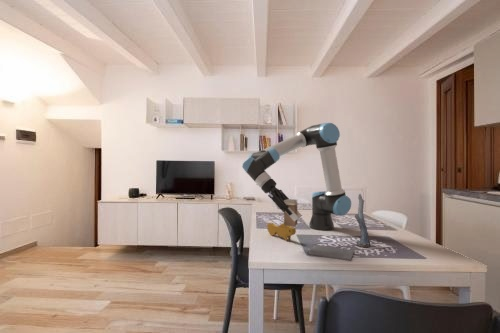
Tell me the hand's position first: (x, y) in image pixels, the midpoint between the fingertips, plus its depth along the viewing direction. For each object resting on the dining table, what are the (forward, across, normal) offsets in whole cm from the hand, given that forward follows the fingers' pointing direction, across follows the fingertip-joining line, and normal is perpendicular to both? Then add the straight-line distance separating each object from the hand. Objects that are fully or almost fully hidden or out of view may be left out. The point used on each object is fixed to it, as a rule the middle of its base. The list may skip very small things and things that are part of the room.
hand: (298, 218), depth 132 cm
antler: (+29, -22, +8) cm, 37 cm away
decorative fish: (0, -14, -20) cm, 24 cm away
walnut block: (0, 0, -5) cm, 5 cm away
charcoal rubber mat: (+21, -1, 0) cm, 21 cm away
